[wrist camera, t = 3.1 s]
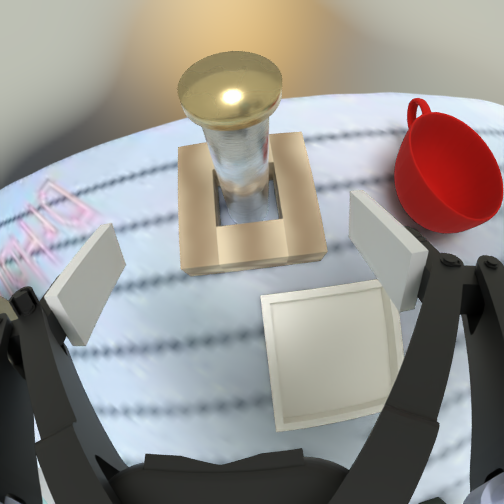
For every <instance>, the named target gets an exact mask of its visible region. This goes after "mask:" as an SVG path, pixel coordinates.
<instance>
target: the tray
mask: <svg viewBox="0 0 504 504" xmlns="http://www.w3.org/2000/svg"><path fill="white" fill-rule="evenodd" d="M260 297H261V305H262V314H263V323H264V331H265V340H266V348H267V357H268V366H269V374H270V383H271V392H272V400H273V409H274V418H275V427H276V432H282V431H290V430H297V429H303V428H310V427H316V426H321V425H327V424H332V423H337V422H341V421H346V420H350V419H355V418H359V417H363V416H367V415H371V414H375V413H378V412H381V411H382V409H383V407H384V405H385V403H386V400H387V398H388V396H389V394H390V391H391V389H392V387H393V385H394V382H395V380H396V377H397V375H398V373H399V370H400V367H401V365H402V362H403V360H404V352H403V342H402V333H401V324H400V317H399V312H398V310H397V308H396V307H395V305H394V304H393V302H392V300H391V299H390V297H389V296H388V294H387V293H386V291H385V289H384V288H383V286H382V285H381V283H380V282H379V280H378V279H374V280H368V281H362V282H356V283H349V284H343V285H336V286H329V287H322V288H315V289H308V290H301V291H293V292H286V293H278V294H270V295H261V296H260Z"/></svg>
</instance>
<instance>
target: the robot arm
mask: <svg viewBox="0 0 504 504" xmlns="http://www.w3.org/2000/svg"><path fill="white" fill-rule="evenodd" d="M349 238H350V239H351V241H352V242H353V244H354V245H355V246H356V248H357V249H358V251H359V252H360V254H361V255H362V257H363V258H364V259H365V261H366V262H367V264H368V265H369V267H370V268H371V270H372V271H373V273H374V274H375V276H376V277H377V279H378V280H379V282H380V283H381V285H382V286H383V288H384V289H385V291H386V293H387V294H388V296H389V297H390V299H391V300H392V302H393V304H394V305H395V307H396V308H397V310H398V312H403V311H407V310H412V309H415V305H416V302H417V298H419V299H420V301H421V302H422V306H421V309H420V313H419V316H418V319H417V322H416V326H415V329H414V332H413V335H412V338H411V341H410V343H409V346H408V349H407V352H406V354H405V357H404V360H403V362H402V365H401V367H400V370H399V373H398V375H397V377H396V380H395V382H394V385H393V387H392V389H391V391H390V394H389V396H388V398H387V400H386V403H385V405H384V407H383V409H382V411H381V413H380V415H379V417H378V419H377V421H376V423H375V425H374V427H373V429H372V431H371V433H370V435H369V437H368V439H367V441H366V442H365V444H364V446H363V448H362V450H361V451H360V453H359V455H358V457H357V458H356V460H355V462H354V463H353V465H352V467H351V468H350V470H348V469H346V468H344V467H343V466H341V465H339V464H336V463H334V462H331V461H328V460H324V459H320V458H314V457H304V456H303V450H302V448H301V449H294V450H287V451H279V452H271V453H262V454H258V455H255V456H252V457H249V458H245V459H242V460H238V461H235V462H231V463H227V464H223V465H216V464H212V463H207V462H203V461H199V460H195V459H191V458H187V457H183V456H173V455H157V454H145V461H144V463H140V464H136V465H133V466H131V467H128V466H127V465H126V464H125V463H124V462H123V460H122V459H121V457H120V456H119V454H118V453H117V451H116V449H115V448H114V446H113V444H112V442H111V441H110V439H109V437H108V435H107V434H106V432H105V430H104V428H103V426H102V424H101V423H100V421H99V419H98V417H97V415H96V413H95V411H94V409H93V407H92V405H91V403H90V401H89V399H88V396H87V394H86V392H85V390H84V388H83V385H82V383H81V381H80V379H79V376H78V374H77V371H76V369H75V367H74V364H73V361H72V359H71V356H70V354H69V351H68V348H67V347H66V345H65V344H64V340H65V338H66V336H67V338H68V339H69V341H70V342H71V344H72V345H73V346H86V345H87V342H88V340H89V338H90V336H91V333H92V331H93V329H94V327H95V325H96V323H97V321H98V318H99V316H100V314H101V312H102V310H103V308H104V306H105V304H106V302H107V300H108V298H109V296H110V294H111V292H112V290H113V288H114V286H115V284H116V282H117V281H118V279H119V277H120V275H121V273H122V271H123V269H124V267H125V266H126V263H125V260H124V258H123V255H122V252H121V249H120V246H119V243H118V240H117V237H116V234H115V231H114V228H113V225H112V223H109V224H104V225H100V227H99V228H98V229H97V230H96V231H95V232H94V233H93V235H92V236H91V237H90V238H89V239H88V240H87V242H86V243H85V244H84V245H83V246H82V248H81V249H80V250H79V251H78V253H77V254H76V255H75V256H74V257H73V259H72V260H71V261H70V263H69V264H68V265H67V266H66V268H65V269H64V270H63V272H62V273H61V274H60V275H59V276H58V277H57V278H56V279H55V281H54V282H53V284H52V285H51V286H50V289H48V290H47V292H46V293H45V294H44V296H43V297H42V299H41V300H40V302H39V300H38V299H37V297H36V295H35V293H34V291H33V289H32V287H29V286H28V287H24V288H21V289H20V290H18V291H17V292H15V293H14V294H13V295H12V297H11V298H10V300H9V303H10V305H11V307H12V309H13V310H14V312H15V314H16V315H17V317H18V319H16V320H13V321H11V320H10V319H9V317H8V315H7V314H6V313H1V314H0V504H43V500H42V493H41V486H40V480H39V474H38V466H37V458H38V461H39V464H40V467H41V470H42V473H43V475H44V478H45V481H46V483H47V486H48V488H49V490H50V493H51V495H52V497H53V500H54V502H55V504H408V503H409V501H410V499H411V497H412V495H413V493H414V491H415V489H416V487H417V485H418V482H419V480H420V478H421V476H422V473H423V471H424V469H425V466H426V464H427V461H428V459H429V456H430V454H431V451H432V448H433V446H434V443H435V440H436V437H437V434H438V430H439V423H438V422H437V417H438V413H439V410H440V407H441V403H442V400H443V396H444V392H445V389H446V385H447V381H448V377H449V372H450V368H451V363H452V358H453V353H454V348H455V342H456V337H457V330H458V324H459V316H460V315H461V316H462V321H463V327H464V333H465V339H466V346H467V354H468V363H469V373H470V386H471V406H472V439H471V459H470V494H469V495H468V496H467V498H466V499H465V501H464V503H463V504H504V265H503V264H502V263H501V262H500V261H499V260H498V259H497V258H494V257H493V256H487V255H483V256H480V257H479V258H478V261H477V264H476V266H464V265H463V262H462V261H461V260H460V259H459V258H458V257H456V256H454V255H452V254H448V253H439V252H438V251H437V250H436V249H435V248H434V247H433V246H432V245H431V244H430V243H429V242H427V240H426V239H425V238H424V237H422V235H421V234H420V233H419V232H417V231H416V230H414V229H412V228H410V227H408V226H403V225H402V224H400V223H399V222H398V221H397V220H396V219H395V218H394V217H393V216H392V215H391V214H390V213H388V212H387V211H386V210H385V209H384V208H383V207H382V206H381V205H379V204H378V203H377V202H376V201H375V200H374V199H372V198H371V197H370V196H369V195H368V194H367V193H365V192H364V191H363V190H358V191H350V210H349ZM9 360H10V361H11V363H10V361H9ZM34 416H35V420H36V424H37V427H38V430H39V434H40V437H41V440H40V441H38V442H36V443H35V434H34ZM36 455H37V458H36Z"/></svg>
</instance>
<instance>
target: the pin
mask: <svg viewBox="0 0 504 504" xmlns="http://www.w3.org/2000/svg"><path fill="white" fill-rule="evenodd" d="M281 95H282V75H281V73H280V71H279V69H278V67H277V66H276V65H275V64H274V63H272V61H270V60H269V59H267V58H265V57H263V56H261V55H258V54H254V53H250V52H242V51H230V52H223V53H218V54H214V55H211V56H208V57H206V58H203V59H201V60H200V61H198V62H196V63H195V64H193V65H192V66H191V67H190V68H188V69H187V71H185V73H184V74H183V75H182V77H181V79H180V81H179V84H178V96H179V99H180V102H181V105H182V107H183V110H184V112H185V114H186V116H187V117H188V118H189V119H190V120H191V121H192V122H194V123H195V124H197V125H199V126H201V127H202V129H203V132H204V135H205V138H206V142H207V145H208V148H209V151H210V155H211V158H212V161H213V164H214V167H215V171H216V174H217V177H218V180H219V183H220V186H221V190H222V193H223V196H224V199H225V202H226V205H227V209H228V212H229V215H230V217H231V219H232V220H233V221H234V222H235V223H236V224H243V223H251V222H259V221H263V220H264V219H265V218H266V216H267V213H268V197H269V116H271V115H272V114H273V113H274V111H275V110H276V109H277V107H278V106H279V104H280V101H281Z"/></svg>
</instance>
